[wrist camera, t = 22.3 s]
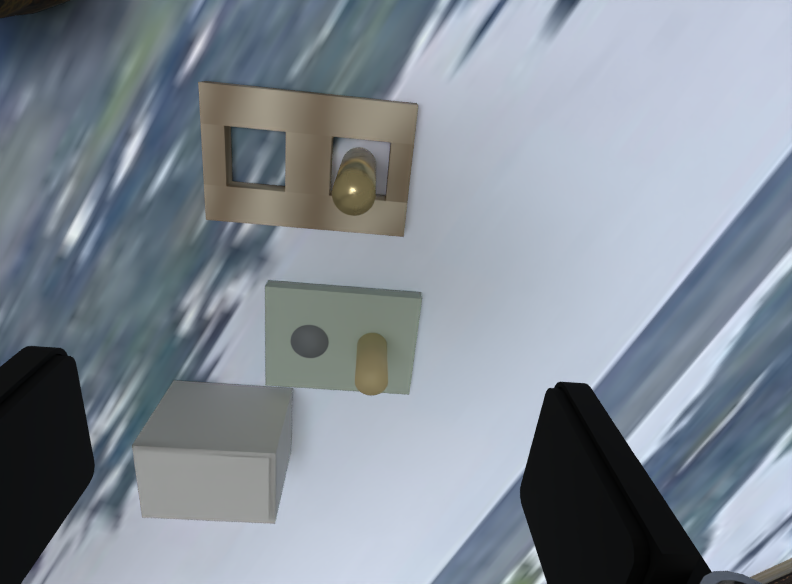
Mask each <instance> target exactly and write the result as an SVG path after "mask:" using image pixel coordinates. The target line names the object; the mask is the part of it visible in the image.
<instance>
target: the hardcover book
mask: <svg viewBox="0 0 792 584" xmlns="http://www.w3.org/2000/svg"><path fill="white" fill-rule="evenodd" d="M750 578H752V579H754V580H756V581H759V582H761V583H762V584H792V558H791V559H789V560H786V561H784V562H782V563H780V564H778V565H775V566H773V567H771V568H769V569H767V570H765V571H762V572H760V573H758V574H756V575H754V576H752V577H750Z"/></svg>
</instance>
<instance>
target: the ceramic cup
mask: <svg viewBox="0 0 792 584" xmlns="http://www.w3.org/2000/svg"><path fill="white" fill-rule="evenodd" d="M67 1H69V0H0V18H5V17H10V16H15V15H25V14H33V13H36V12H39V11H42V10H45V9H47V8H50V7H53V6H56V5H59V4H62V3H65V2H67Z"/></svg>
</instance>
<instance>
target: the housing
mask: <svg viewBox="0 0 792 584" xmlns="http://www.w3.org/2000/svg"><path fill="white" fill-rule="evenodd" d="M292 395H293V388H281V387H266V386H251V385H236V384H221V383H206V382H190V381H175V380H174V381H173V382H172V384H171V385H170V387H169V388H168V390H167V392H166V393H165V395H164V396H163V398H162V399H161V401H160V403H159V404H158V406H157V407H156V409H155V410H154V412H153V413H152V415H151V417H150V418H149V420H148V421H147V423H146V424H145V426H144V428H143V429H142V431H141V432H140V434H139V435H138V437H137V438H136V440H135V442H134V443H133V445H132V449H133V456H134V463H135V470H136V477H137V485H138V492H139V499H140V506H141V513H142V518H164V519H185V520H206V521H228V522H249V523H270V524H275V522H276V517H277V513H278V508H279V504H280V499H281V495H282V490H283V486H284V481H285V477H286V472H287V468H288V463H289V459H290V454H291V437H292Z"/></svg>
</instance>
